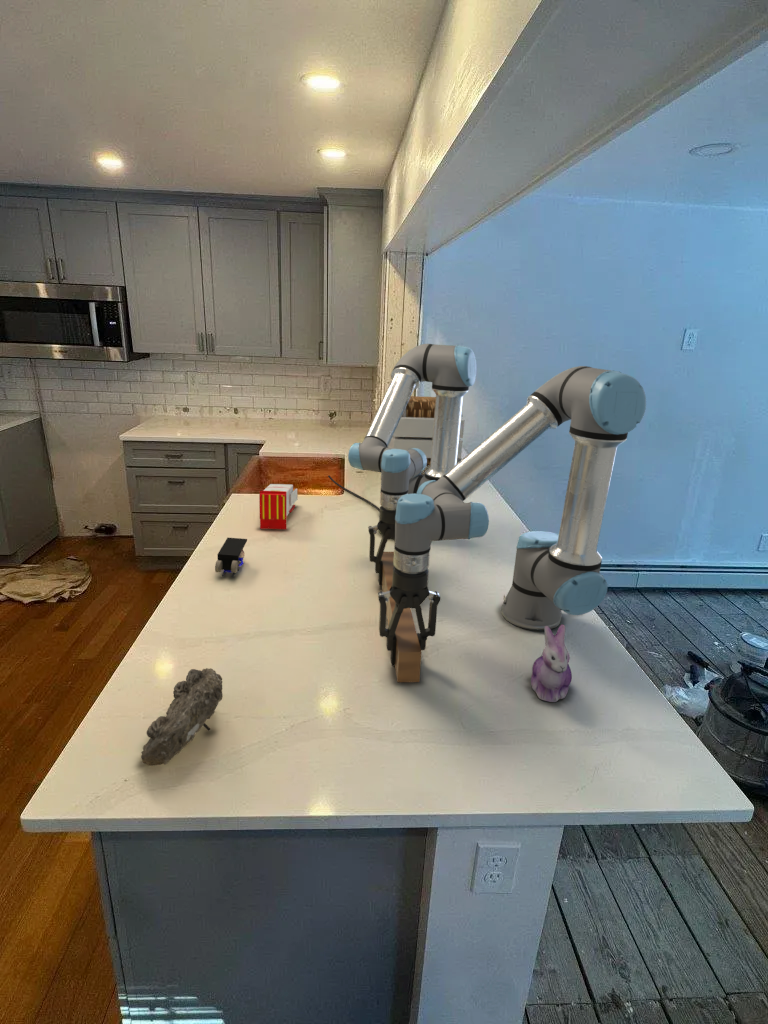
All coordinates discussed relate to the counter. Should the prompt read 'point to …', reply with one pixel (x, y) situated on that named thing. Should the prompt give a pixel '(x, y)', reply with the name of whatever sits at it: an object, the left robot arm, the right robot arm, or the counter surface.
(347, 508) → the counter surface
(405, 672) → the bar
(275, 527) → the toy
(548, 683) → the figurine
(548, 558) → the right robot arm
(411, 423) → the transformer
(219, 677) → the fossil
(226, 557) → the black toy car
